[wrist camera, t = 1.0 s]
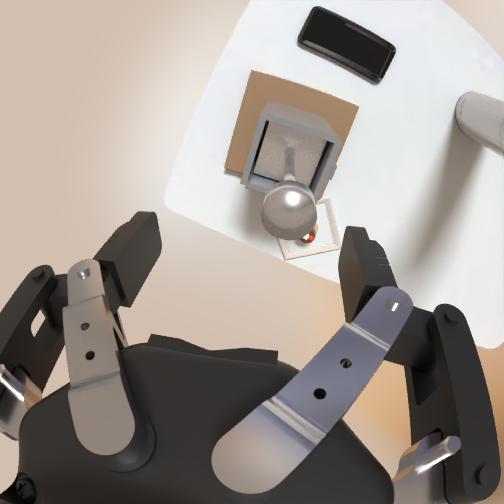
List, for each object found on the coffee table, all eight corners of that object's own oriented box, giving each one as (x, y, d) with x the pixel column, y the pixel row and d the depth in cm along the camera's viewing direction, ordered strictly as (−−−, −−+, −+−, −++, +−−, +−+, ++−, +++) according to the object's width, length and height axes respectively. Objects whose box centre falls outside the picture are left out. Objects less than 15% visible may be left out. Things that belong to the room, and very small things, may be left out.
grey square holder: (357, 105, 41) (385, 123, 29) (320, 194, 52) (329, 242, 40) (252, 70, 40) (236, 71, 28) (225, 165, 51) (203, 203, 38)
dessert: (340, 245, 59) (343, 259, 55) (285, 256, 62) (284, 271, 58) (329, 194, 52) (332, 205, 48) (268, 208, 56) (266, 220, 52)
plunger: (327, 138, 34) (352, 191, 21) (307, 188, 39) (315, 265, 25) (270, 119, 34) (256, 159, 20) (253, 171, 38) (232, 240, 25)
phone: (379, 84, 38) (295, 41, 36) (377, 83, 39) (295, 42, 37) (398, 47, 33) (314, 3, 31) (396, 47, 34) (314, 4, 32)
